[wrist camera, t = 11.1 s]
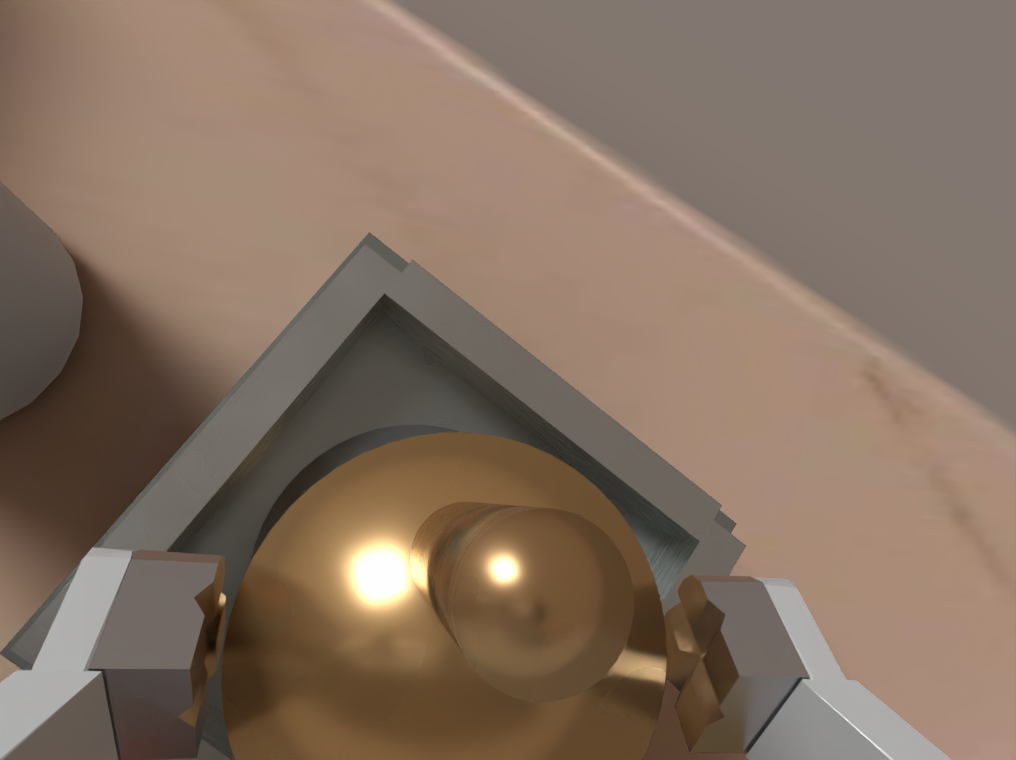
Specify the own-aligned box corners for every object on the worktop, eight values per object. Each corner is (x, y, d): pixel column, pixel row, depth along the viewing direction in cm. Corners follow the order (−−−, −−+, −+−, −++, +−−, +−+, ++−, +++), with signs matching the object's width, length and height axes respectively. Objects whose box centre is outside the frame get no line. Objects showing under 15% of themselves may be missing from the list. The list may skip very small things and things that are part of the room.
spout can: (524, 715, 16) (886, 1182, 5) (266, 713, 15) (42, 1301, 4) (538, 467, 17) (870, 421, 6) (296, 449, 16) (176, 355, 5)
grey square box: (425, 833, 23) (478, 1043, 14) (105, 605, 22) (-52, 676, 13) (632, 516, 26) (781, 526, 17) (361, 304, 25) (372, 200, 16)
